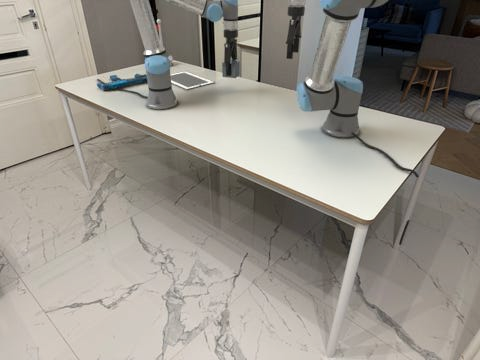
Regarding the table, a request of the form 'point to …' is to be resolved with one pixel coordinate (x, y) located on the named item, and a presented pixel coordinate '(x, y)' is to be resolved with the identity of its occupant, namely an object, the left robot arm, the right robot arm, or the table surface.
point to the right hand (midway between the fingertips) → (292, 55)
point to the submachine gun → (122, 82)
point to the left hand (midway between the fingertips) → (231, 73)
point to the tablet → (188, 80)
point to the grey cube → (232, 69)
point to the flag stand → (161, 38)
